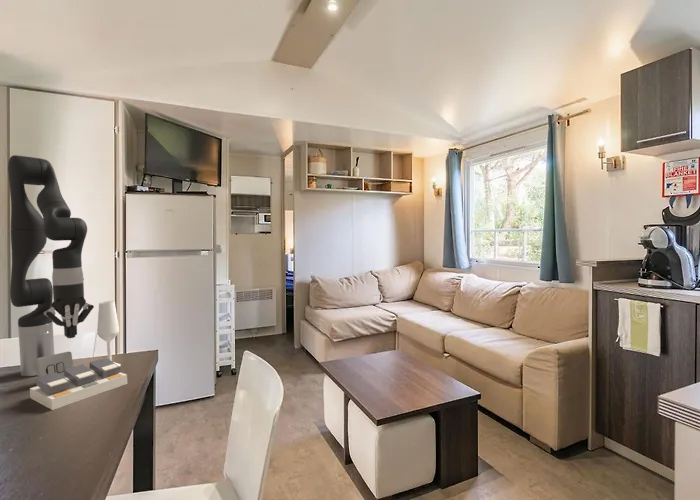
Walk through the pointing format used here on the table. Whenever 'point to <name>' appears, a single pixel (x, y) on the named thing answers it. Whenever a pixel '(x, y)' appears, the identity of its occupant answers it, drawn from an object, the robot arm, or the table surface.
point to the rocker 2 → (104, 367)
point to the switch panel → (77, 391)
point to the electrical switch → (54, 364)
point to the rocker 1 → (52, 383)
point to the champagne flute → (107, 324)
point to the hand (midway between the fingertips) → (70, 337)
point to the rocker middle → (80, 375)
